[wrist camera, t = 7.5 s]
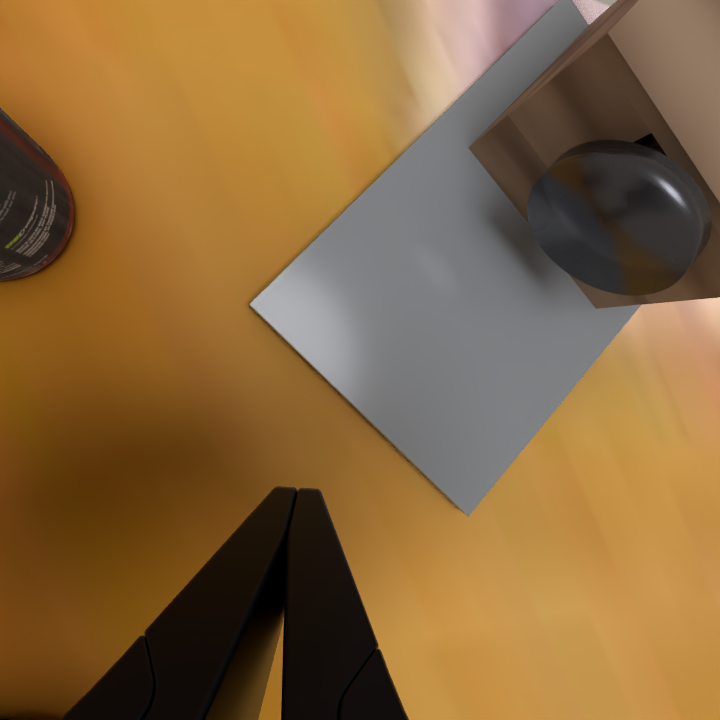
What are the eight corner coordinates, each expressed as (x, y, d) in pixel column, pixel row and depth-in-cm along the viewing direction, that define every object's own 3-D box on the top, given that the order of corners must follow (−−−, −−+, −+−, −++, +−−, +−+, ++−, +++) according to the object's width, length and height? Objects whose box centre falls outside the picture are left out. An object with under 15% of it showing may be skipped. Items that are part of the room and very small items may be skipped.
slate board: (458, 509, 24) (468, 516, 23) (248, 306, 20) (249, 304, 19) (698, 218, 27) (714, 214, 26) (553, 6, 24) (566, -8, 23)
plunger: (584, 301, 21) (729, 285, 15) (500, 196, 20) (622, 130, 13) (707, 156, 23) (883, 87, 17) (639, 49, 21) (803, -69, 15)
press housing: (595, 308, 24) (778, 291, 16) (468, 147, 22) (607, 32, 14) (697, 188, 26) (909, 117, 18) (588, 25, 24) (777, -143, 15)
